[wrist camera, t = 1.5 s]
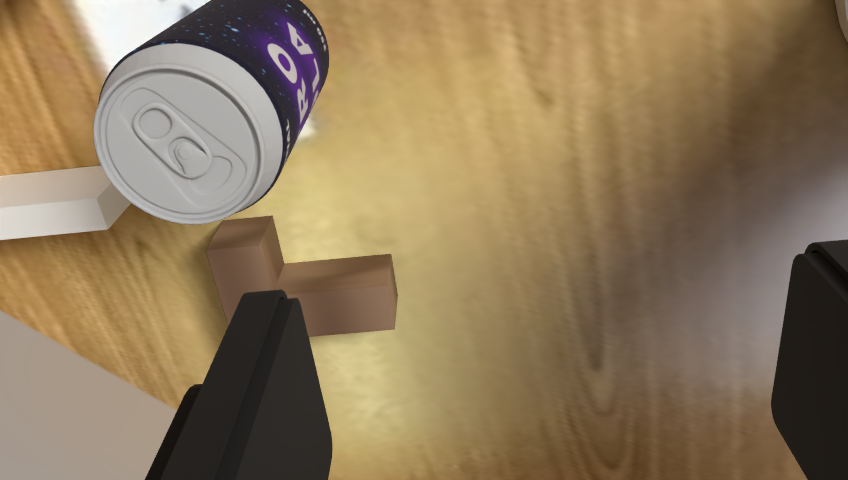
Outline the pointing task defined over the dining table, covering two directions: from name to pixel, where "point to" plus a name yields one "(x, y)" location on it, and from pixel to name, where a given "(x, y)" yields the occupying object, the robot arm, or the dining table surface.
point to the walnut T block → (303, 279)
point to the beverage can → (211, 108)
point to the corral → (58, 202)
